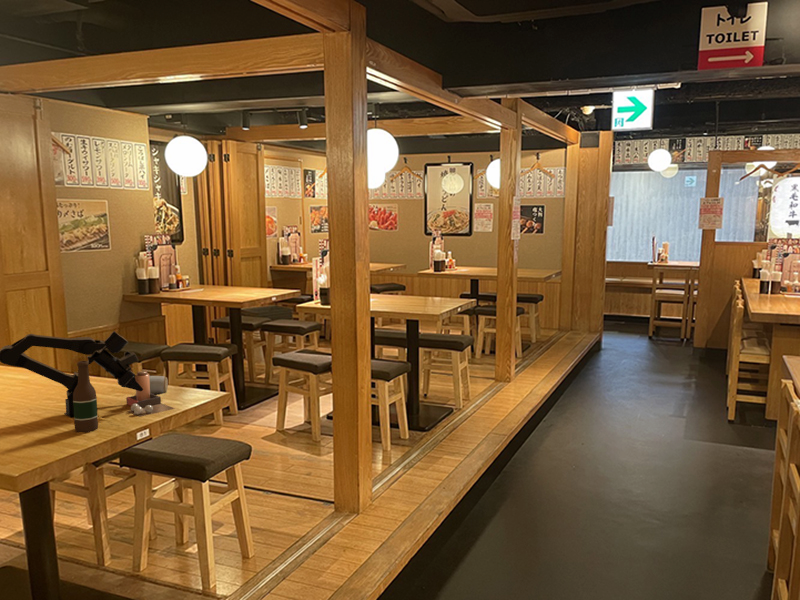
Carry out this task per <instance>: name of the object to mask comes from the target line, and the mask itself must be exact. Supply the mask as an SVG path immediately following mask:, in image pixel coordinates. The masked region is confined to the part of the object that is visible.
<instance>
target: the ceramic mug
mask: <svg viewBox="0 0 800 600" xmlns="http://www.w3.org/2000/svg"><path fill="white" fill-rule="evenodd" d="M149 381H150V393H151V394H154V395H161V394H166V393H167V392H168V387H169V384H168V383H169V380H168V377H166V376H163V375H149Z"/></svg>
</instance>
